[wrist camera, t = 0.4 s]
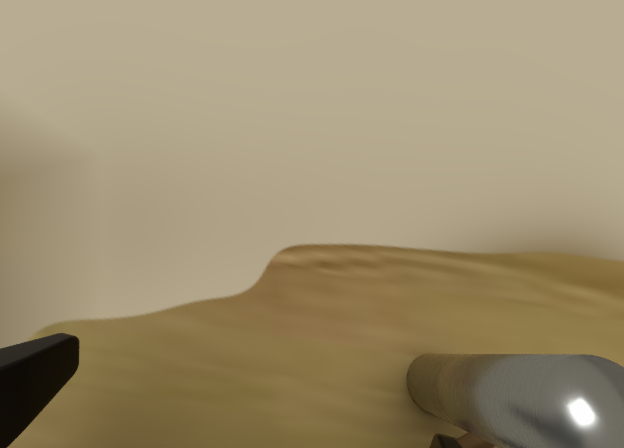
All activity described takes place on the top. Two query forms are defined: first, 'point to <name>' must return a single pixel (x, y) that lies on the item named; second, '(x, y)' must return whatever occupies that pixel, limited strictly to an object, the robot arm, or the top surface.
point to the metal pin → (524, 397)
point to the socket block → (474, 442)
